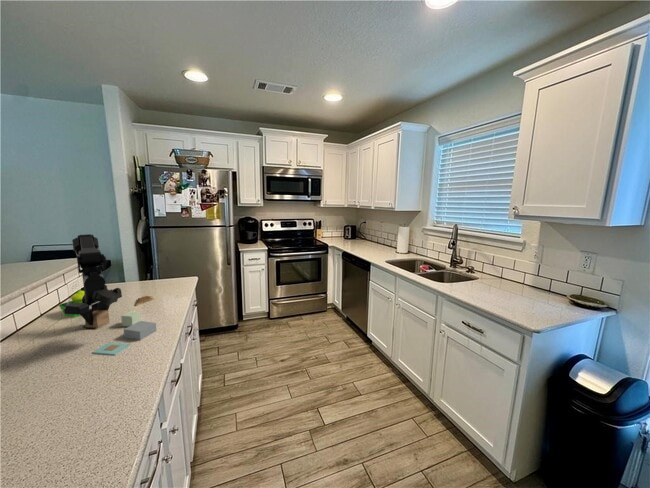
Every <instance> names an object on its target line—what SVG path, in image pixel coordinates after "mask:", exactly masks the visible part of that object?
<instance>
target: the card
mask: <svg viewBox="0 0 650 488" xmlns="http://www.w3.org/2000/svg"><path fill="white" fill-rule="evenodd" d="M129 346H131V343H126V342H125V343H121V342H114V341H113V342H111V341H110V342H109V341H108V342H107V343H106V344H105V343H104V345H102V346H100V347H98V348H97V349H96V350H93V351H92V354H98V355H110V356H116V355H118V354H119V353H121V352H122V351H124V350H125V349H127V348H128V347H129Z"/></svg>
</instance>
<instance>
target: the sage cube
mask: <svg viewBox="0 0 650 488" xmlns="http://www.w3.org/2000/svg"><path fill="white" fill-rule="evenodd" d="M120 316H121V317H120V318H121V325H122V327H129V326H131V325H133V324H135V323H137V322H139V321H142V318H141V311H134V310H133V311H131V310H130V311H128V312H126V313H124V314H122V315H120Z"/></svg>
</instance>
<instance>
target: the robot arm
mask: <svg viewBox="0 0 650 488" xmlns="http://www.w3.org/2000/svg"><path fill="white" fill-rule="evenodd" d="M71 242H72V250H73V251H75V254H76V262H77V263H76V264H77V270H78V273H79V274H81V275H82V276H81V277H82V283H83V285H82V286H83V287H80V290H81V291H84V296H83V298H82V303H73V304H70V305H68V306H66V307H65V308H64V312H65V314H75V315H79V314H80V315H81V316H80V317H82V318H83V319H84V322H85V320H86V322H87V323H88V324H89V325H93V311H95V310H108V311H109V308H110V306H111V305H112V304H114V303H117V302H118V300H119V299H121V298H122V297H123V295H122V294H123V293H122V289H121V288H120V287H115V288H113V289H108V286H107V284H106V279H105V277H104V275H103V271H106V270H107V268H108V263H107V258H106V257H107V256H105V254H104V253H102V252H101V250H100V249H99V238H98V237H96V236H94V234H89V233H88V234H79V235H77V237H75V238H73V239H72V241H71ZM65 314H64V315H65ZM86 322H85V325H83V326H82V329H89V330H97V329H98V328H92V327H86Z"/></svg>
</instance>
